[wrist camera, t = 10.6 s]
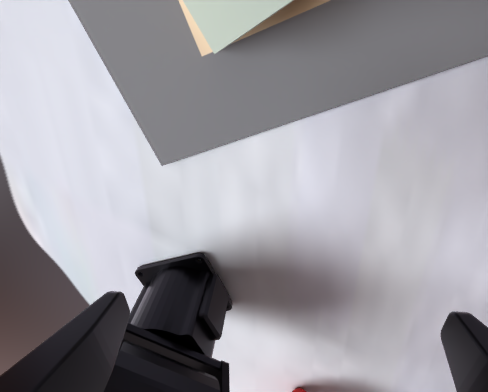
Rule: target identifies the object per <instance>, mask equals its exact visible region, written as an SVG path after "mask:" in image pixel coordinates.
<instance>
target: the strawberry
mask: <svg viewBox="0 0 488 392" xmlns="http://www.w3.org/2000/svg"><path fill="white" fill-rule="evenodd" d="M292 392H306V391H305V390H304V389H301V388H297V389H295V390H293V391H292Z"/></svg>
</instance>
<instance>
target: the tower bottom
mask: <svg viewBox="0 0 488 392" xmlns="http://www.w3.org/2000/svg"><path fill="white" fill-rule="evenodd" d="M178 1H179V3H180V5H181V8H182V10H183V13H184V15H185V17H186V20H187V22H188V25H189V27H190V29H191V32H192V34H193V37H194V39H195V41H196V44H197V46H198V49H199V51H200V53H201V56H204V55H207V54H209V53H211V52H213V51H212V49H211V48H210V46H209V44H208V42H207V41H206V39H205V37H204V36H203V34H202V32H201V31H200V29H199V27H198V25H197V24H196V22H195V20H194V19H193V17H192V15H191V14H190V12H189V10H188V9H187V7H186V5H185V3H184V2H183V0H178ZM328 1H330V0H294V1H292V2H291V3H289V4H288V5H286V6H285V7H284V8H282V9H281V10H279V11H278V12H276V13H275V14H273V15H272V16H270V17H269V18H268V19H266V20H265V21H263V22H262V23H260V24H259V25H257V26H256V27H255V28H253V29H252V30H250V31H249V32H247V33H246V34H244V35H243V36H241V37H240V38H239V39H237V40H236V41H239V40H241V39H243V38H246V37H248V36H250V35H252V34H255V33H257V32H259V31H262V30H264V29H266V28H268V27H271V26H273V25H275V24H278V23H280V22H282V21H284V20H287V19H289V18H291V17H294V16H296V15H298V14H300V13H303V12H305V11H307V10H310V9H312V8H314V7H317V6H319V5H321V4H323V3H326V2H328ZM236 41H234V42H236ZM234 42H233V43H234ZM231 44H232V43H231Z"/></svg>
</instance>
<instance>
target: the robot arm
mask: <svg viewBox="0 0 488 392" xmlns="http://www.w3.org/2000/svg"><path fill="white" fill-rule="evenodd" d="M198 259H201V260H198ZM135 275H136V276H137V278H138V279H139V280H140V282H141V283H142V284H143V286H144V287H143V289H142V291H141V293H140V295H139V297H138V299H137V301H136V303H135V305H134V307H133V309H132V311H131V313H130V310H129V307H128V304H127V301H126V298H125V296H124V294H123V293H122V292H116V291H110V292H107V293H106V294H104V295H103V296H102V297H100V298H99V299H98V300H96V301H95V302H94V303H93V304H91V305H90V306H89V307H88V308H86V309H85V310H84V311H82V312H81V313H80V314H79V315H77V316H76V317H75V318H73V319H72V320H71V321H70V322H69V323H67V324H66V325H64V326H63V327H62V328H61V329H59V330H58V331H57V332H56V333H54V334H53V335H52V336H50V337H49V338H48V339H47V340H45V341H44V342H43V343H41V344H40V345H39V346H38V347H36V348H35V349H34V350H32V351H31V352H30V353H29V354H27V355H26V356H25V357H24V358H22V359H21V360H20V361H18V362H17V363H16V364H14V365H13V366H12V367H11V368H10V369H8V370H7V371H6V372H4V373H3V374H2V375H0V392H229V363H227V362H224V361H218V360H216V359H214V358H212V354H213V349H214V344H215V340H219V339H220V337H221V335H222V330H223V324H224V319H225V314H226V311H228V310H231V309H232V304H233V303H232V301H231V299H230V298H229V294H228V292H227V290H226V288H225V287H224V285H223V283H222V282H221V280H220V278H219V276H218V275H217V274H216V273H215V272H214V270H213V268H212V267H211V265H210V263H209V261H208V260H207V258H206V256H205V255H204V254H201V253H196V254H192V255H188V256H183V257H179V258H175V259H170V260H166V261H162V262H158V263H153V264H149V265H145V266H140V267H138V268H137V270H136V272H135ZM441 340H442V343H443V347H444V350H445V353H446V357H447V360H448V363H449V367H450V370H451V373H452V377H453V380H454V383H455V387H456V390H457V392H488V327H487V326H485V325H484V324H483V323H482V322H480V321H479V320H478V319H477V318H476V317H474V316H473V315H472V314H470V313H467V312H451V313H449V315H448V317H447V319H446V321H445V323H444V326H443V328H442V330H441Z"/></svg>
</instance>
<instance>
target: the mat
mask: <svg viewBox="0 0 488 392" xmlns="http://www.w3.org/2000/svg"><path fill="white" fill-rule="evenodd" d="M68 1H69V2H70V4H71V6H72V8H73V9H74V11H75V13H76V15H77V16H78V18H79V20H80V22H81V24H82V25H83V27H84V29H85V31H86V32H87V34H88V36H89V38H90V39H91V41H92V43H93V45H94V47H95V48H96V50H97V52H98V54H99V55H100V57H101V59H102V61H103V63H104V64H105V66H106V68H107V70H108V71H109V73H110V75H111V77H112V78H113V80H114V82H115V84H116V86H117V87H118V89H119V91H120V93H121V94H122V96H123V98H124V100H125V101H126V103H127V105H128V107H129V109H130V110H131V112H132V114H133V116H134V117H135V119H136V121H137V123H138V125H139V126H140V128H141V130H142V132H143V133H144V135H145V137H146V139H147V140H148V142H149V144H150V146H151V148H152V149H153V151H154V153H155V155H156V156H157V158H158V160H159V162H160V163H161V165H162V166H163V165H166V164H169V163H172V162H175V161H178V160H181V159H184V158H187V157H190V156H193V155H195V154H198V153H201V152H204V151H207V150H210V149H213V148H216V147H219V146H222V145H225V144H228V143H231V142H234V141H237V140H240V139H243V138H246V137H249V136H252V135H255V134H258V133H261V132H264V131H267V130H270V129H273V128H276V127H279V126H282V125H285V124H288V123H290V122H293V121H296V120H299V119H302V118H305V117H308V116H311V115H314V114H317V113H320V112H323V111H326V110H329V109H332V108H335V107H338V106H341V105H344V104H347V103H350V102H353V101H356V100H359V99H362V98H365V97H368V96H371V95H374V94H377V93H380V92H382V91H385V90H388V89H391V88H394V87H397V86H400V85H403V84H406V83H409V82H412V81H415V80H418V79H421V78H424V77H427V76H430V75H433V74H436V73H439V72H442V71H445V70H448V69H451V68H454V67H457V66H460V65H463V64H466V63H469V62H472V61H474V60H477V59H480V58H483V57H486V56H488V0H330V1H328V2H326V3H323V4H321V5H319V6H317V7H314V8H312V9H310V10H307V11H305V12H303V13H300V14H298V15H296V16H294V17H291V18H289V19H287V20H284V21H282V22H280V23H278V24H275V25H273V26H271V27H268V28H266V29H264V30H262V31H259V32H257V33H255V34H252V35H250V36H248V37H246V38H243V39H241V40H239V41H236V42H234V43H232V44H230V45H228V46H227V47H226V48H224V49H222V50H221V51H219V52H217V53H216V54H214V53H213V52H211V53H209V54H207V55H204V56H201V53H200V51H199V49H198V46H197V44H196V41H195V39H194V37H193V34H192V32H191V29H190V27H189V25H188V22H187V20H186V17H185V15H184V13H183V10H182V8H181V5H180V3H179V1H178V0H68Z"/></svg>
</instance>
